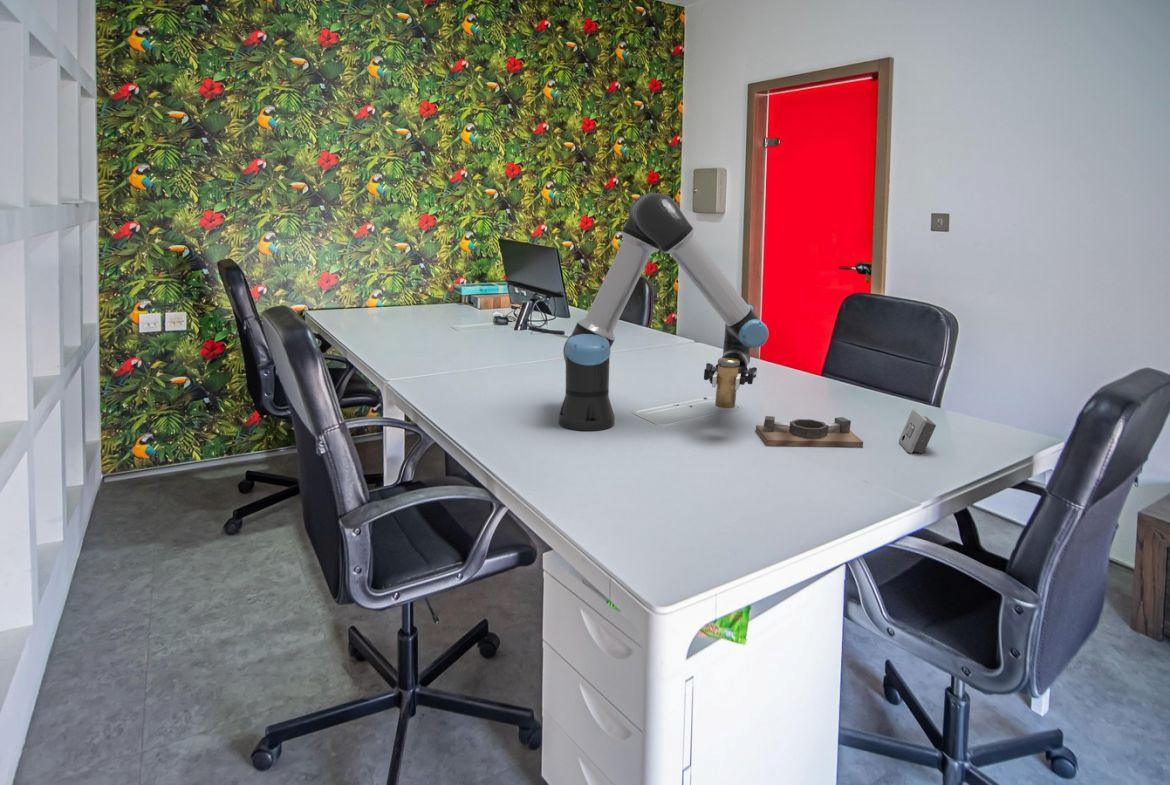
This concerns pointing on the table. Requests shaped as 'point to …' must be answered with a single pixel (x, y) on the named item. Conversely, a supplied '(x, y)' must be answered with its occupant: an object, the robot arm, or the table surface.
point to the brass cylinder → (726, 382)
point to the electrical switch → (916, 433)
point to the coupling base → (808, 433)
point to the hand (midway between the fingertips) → (725, 383)
